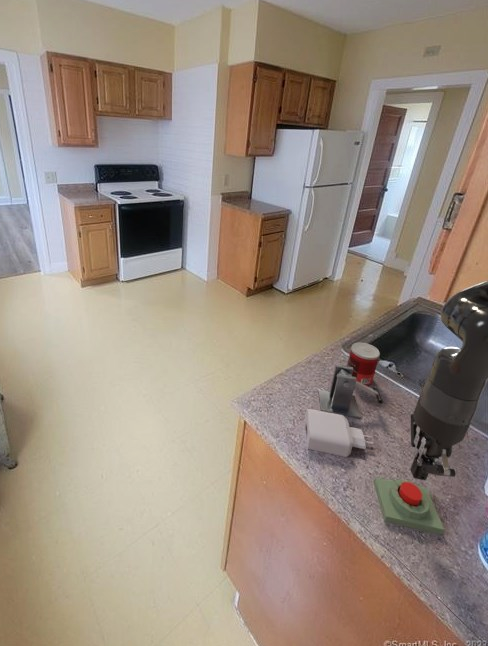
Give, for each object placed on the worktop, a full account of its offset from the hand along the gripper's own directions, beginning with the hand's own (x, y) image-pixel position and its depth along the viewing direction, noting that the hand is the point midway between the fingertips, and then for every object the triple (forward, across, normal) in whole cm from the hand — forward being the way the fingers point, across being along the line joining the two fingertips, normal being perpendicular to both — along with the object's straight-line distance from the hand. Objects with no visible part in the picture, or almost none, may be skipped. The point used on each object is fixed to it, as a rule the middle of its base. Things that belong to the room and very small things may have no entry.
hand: (417, 475), depth 61 cm
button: (+6, 0, 0) cm, 6 cm away
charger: (+10, +13, +11) cm, 19 cm away
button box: (+9, 0, 0) cm, 9 cm away
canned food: (+9, +38, +1) cm, 39 cm away
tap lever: (+2, +25, +5) cm, 26 cm away
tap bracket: (+9, +25, +9) cm, 28 cm away
